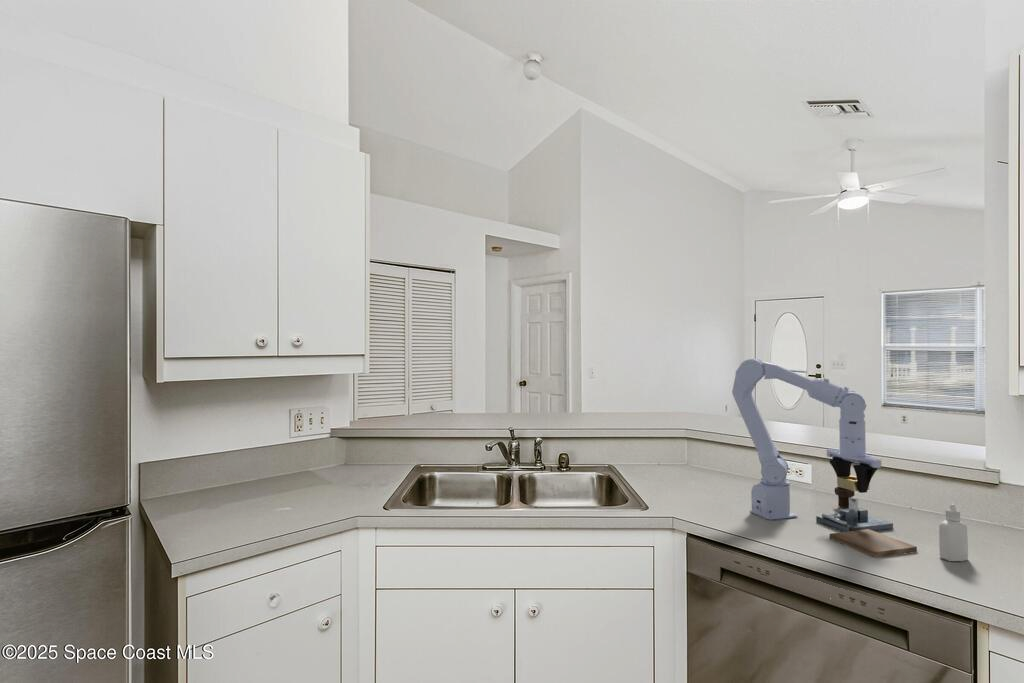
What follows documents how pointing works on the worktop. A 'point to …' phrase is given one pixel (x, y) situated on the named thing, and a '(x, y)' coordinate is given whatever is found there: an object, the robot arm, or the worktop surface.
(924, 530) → the worktop surface
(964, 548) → the eye dropper bottle
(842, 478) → the collar
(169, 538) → the worktop surface
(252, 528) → the worktop surface
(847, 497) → the bolt
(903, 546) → the board
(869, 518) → the vise
